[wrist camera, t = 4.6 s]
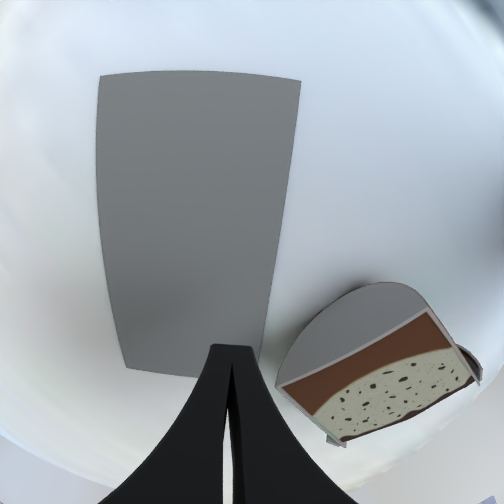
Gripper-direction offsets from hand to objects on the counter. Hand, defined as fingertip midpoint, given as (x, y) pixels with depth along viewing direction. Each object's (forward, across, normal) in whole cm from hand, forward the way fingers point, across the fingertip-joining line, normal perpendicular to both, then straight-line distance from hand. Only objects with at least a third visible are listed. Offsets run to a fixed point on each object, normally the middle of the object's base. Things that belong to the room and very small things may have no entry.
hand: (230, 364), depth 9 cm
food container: (+6, -6, +2) cm, 9 cm away
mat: (+7, +3, 0) cm, 8 cm away
